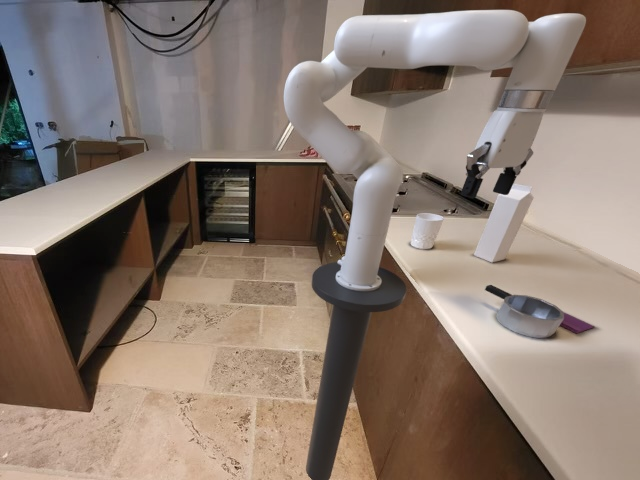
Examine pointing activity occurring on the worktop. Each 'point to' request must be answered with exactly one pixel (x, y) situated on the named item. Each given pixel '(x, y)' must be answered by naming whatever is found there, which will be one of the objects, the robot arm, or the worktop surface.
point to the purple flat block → (574, 324)
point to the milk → (504, 223)
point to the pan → (527, 314)
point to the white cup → (426, 230)
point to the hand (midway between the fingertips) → (484, 195)
